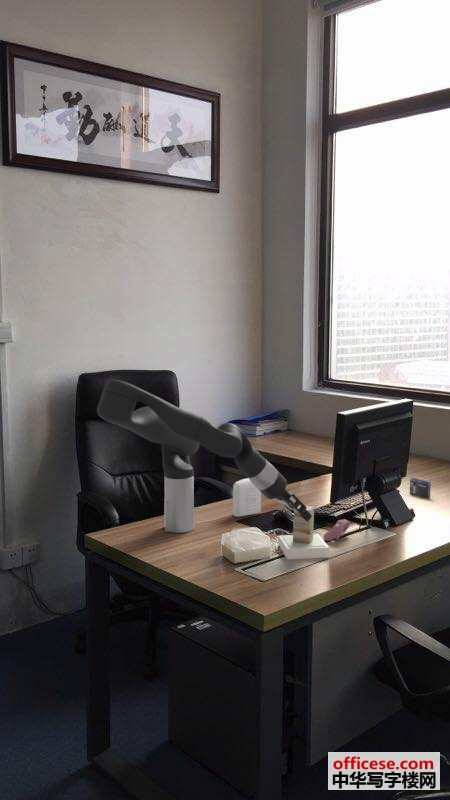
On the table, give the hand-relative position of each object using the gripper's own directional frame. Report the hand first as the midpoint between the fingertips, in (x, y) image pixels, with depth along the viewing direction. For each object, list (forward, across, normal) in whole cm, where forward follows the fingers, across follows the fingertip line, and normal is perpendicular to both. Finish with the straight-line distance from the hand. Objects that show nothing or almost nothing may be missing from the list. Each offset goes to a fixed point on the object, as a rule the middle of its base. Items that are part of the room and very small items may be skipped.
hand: (302, 514), depth 207 cm
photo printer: (+9, -41, -7) cm, 43 cm away
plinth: (+9, -1, -7) cm, 11 cm away
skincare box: (+6, -1, -5) cm, 8 cm away
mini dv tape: (+58, -38, +43) cm, 81 cm away
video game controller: (+20, -8, +4) cm, 22 cm away
